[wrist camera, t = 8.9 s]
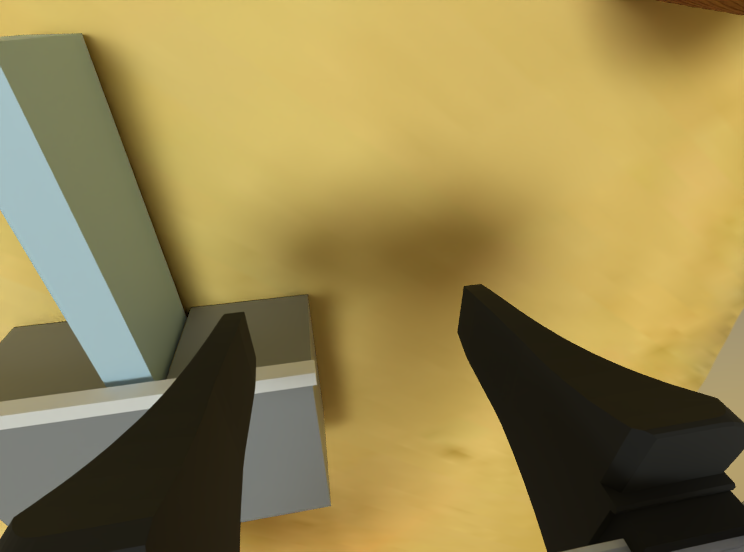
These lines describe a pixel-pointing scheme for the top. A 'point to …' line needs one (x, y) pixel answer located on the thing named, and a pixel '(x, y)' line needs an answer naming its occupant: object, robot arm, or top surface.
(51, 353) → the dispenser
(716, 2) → the disposable coffee cup
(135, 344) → the light blue rectangular block
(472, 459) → the top surface
